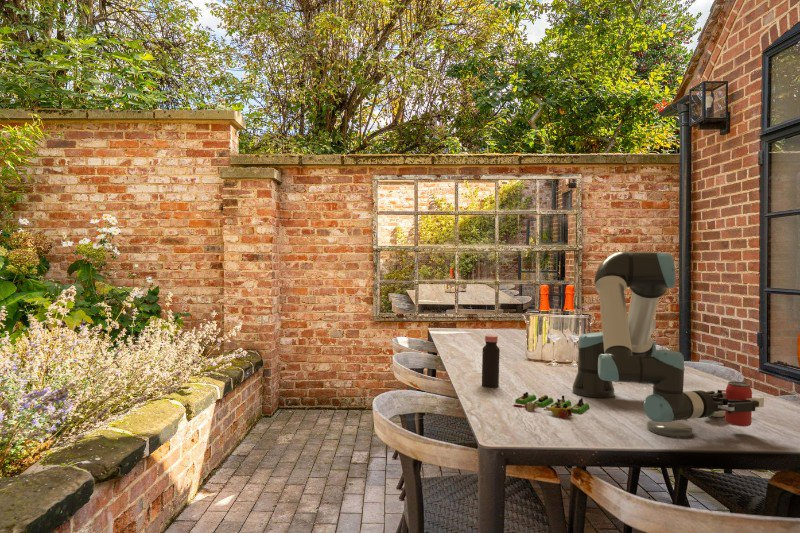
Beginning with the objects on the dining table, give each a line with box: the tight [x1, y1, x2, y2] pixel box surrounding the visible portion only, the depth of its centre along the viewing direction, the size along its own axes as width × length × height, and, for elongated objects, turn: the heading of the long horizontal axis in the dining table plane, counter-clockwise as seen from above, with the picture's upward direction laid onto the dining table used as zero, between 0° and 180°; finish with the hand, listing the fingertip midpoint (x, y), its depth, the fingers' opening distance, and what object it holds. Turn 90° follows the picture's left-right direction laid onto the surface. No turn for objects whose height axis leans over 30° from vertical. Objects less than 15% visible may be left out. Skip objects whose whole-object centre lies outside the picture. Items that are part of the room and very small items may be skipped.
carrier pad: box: [646, 420, 693, 438], centre depth 159 cm, size 12×12×2 cm
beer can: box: [724, 380, 753, 428], centre depth 158 cm, size 7×7×12 cm
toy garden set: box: [513, 391, 590, 419], centre depth 183 cm, size 23×19×5 cm
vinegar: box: [481, 334, 501, 388], centre depth 215 cm, size 7×7×20 cm
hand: (750, 398), depth 160 cm, fingers closed on beer can, 6 cm apart
